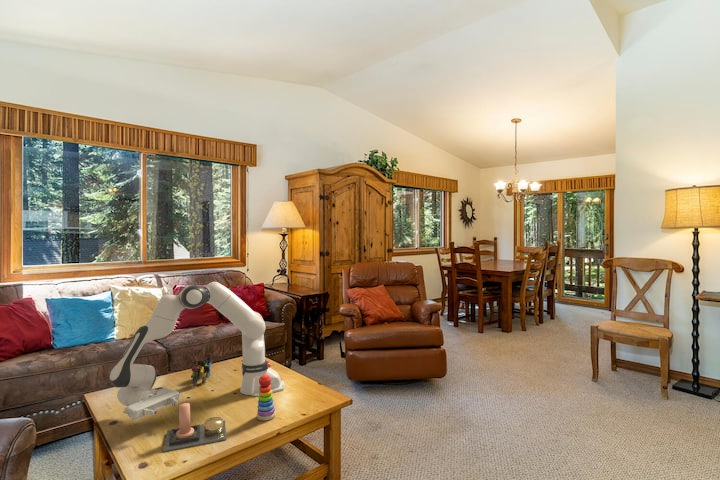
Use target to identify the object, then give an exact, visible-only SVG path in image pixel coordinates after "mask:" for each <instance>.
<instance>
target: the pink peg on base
mask: <svg viewBox="0 0 720 480" xmlns="http://www.w3.org/2000/svg"><path fill="white" fill-rule="evenodd" d="M178 419H179V420H178V421H179V422H178V425H179V427H178V428H179V429H180V430H178V431H177V432H176V438H177V439H184V438H190V437H192V436H193V435H194V428H192V427H191V426H192V425H191V403H189V402H184V403H183V402H182V403H180V404H179V405H178Z"/></svg>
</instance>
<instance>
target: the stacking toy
mask: <svg viewBox="0 0 720 480" xmlns="http://www.w3.org/2000/svg"><path fill="white" fill-rule="evenodd" d="M270 382H271V378H270V376H268V375H262V376H261V377H260V378H259V384H260V385H261V386H260V387H259V390H260V392H259V396H257V398H258V401H257V404H258V405H257V413H256V418H257V420H259V421H270V420H272V419H274V418H275V416H276V407H275V403H274V398H273V393H272V390H271V386H270V385H269V384H270Z"/></svg>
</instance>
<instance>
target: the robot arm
mask: <svg viewBox="0 0 720 480" xmlns="http://www.w3.org/2000/svg"><path fill="white" fill-rule="evenodd" d="M204 304H209V305H210V306H212V307H213V308H214V309H215V310H217V312H218V313H220V314H221V315H223V316H224V317H225V318H226V319H228V321H230V323H231V324H233V326H235V327H236V328H237V330H239V331H240V332H241V345H242V348H241V349H242V363H241V374H242V376H241V377H242V378H241V385H240V389H239V392H240V393H241V394H243V395H246V396H252V397H259V392H260V390H259V387H260V386H261V385H260V384H259V378H260V377H261V376H262V375H268V376H270V378H271V382H270V384H269V385H270V386H271V390H272V394H273V393H277V392H280V391H284V390H285V389H286V384H285V382H284V380H282V379H281V375H280V374H279V372H278V371H276V370H274V369H273V368H271V367H272V364H271V363H270V361H268V360H267V359H266V345H265V336H264V335H265V332H266V322H265V320H264V318H263V316H262V314H260V313H259V312H257V311H254V310H253V309H252V308H251V307H250V306H249V305H248V304H247V303H245V301H244V300H242V299H241V298H240V297H239V296H237V295H236V294H235V292H233V291H232V290H231V289H229V288H228V287H226V286H225V285H223V284H221V283H220V282H218V281H212V282H209V283H207V285H205V286H201V285H195V284H194V285H193V284H191V285H187V286H185V287H183V289H181V290H180V292H178V293H177V294H172V293H171V294H169V293H167V294H164V295H163V296H161V297H160V299H159V300H158V302H157V303H156V305H155V307H154V310H153V311H152V313H151V316H150V317H149V319H148V321H147V322H146V323H145V324H144V325H142V326H140V327H139V328H138V329H137V330H136V331H135V333H134V335H133V336H132V337H131V339H130V341H129V343H128V345H127V346H126V348H125V350H124V351H123V352H122V355H121V356H120V358H119V359H118V361H117V362H116V363H115V365H114V366H113V368H111V371H110V373H109V377H108V378H109V382H110V383H111V385H112V386H113V387H114V388H119V389H118V390H117V392H116V393H117V394H116V398H117V401H118V402H119V403H120V404H121V405H123V406H125V408H124V409H123V410H122V414H126V415H127V416H128V417H129V418H131V420H139V418H142V417H145V416H155V415H157V414H158V413H157V411H158V410H161V409H163V408H165V407H168V406H169V405H172V406H174V407H175V406H179V405H178V404H179V401H180V392H179V391H178V390H175V389H171V388H166V386H161V387H155V388H153V387H154V385H155V383H156V380H157V371H156V368H155V367H154V366H153V365H149V364H140V363H134V362H135V360H136V358H137V357H138V355H139V353H140V351H141V349H142V348H143V346H145V344H147V343H149V342H150V341H154V340H159V339H163V338H165V337H168V336H169V335H170V334H172V332H173V331H174V329H175V327H176V324H177V321H178V319H179V316H180V314H181V312H182V311H183V310H185V309H189V310H193V309H197V308H199V307H201V306H203V305H204Z"/></svg>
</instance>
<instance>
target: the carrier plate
mask: <svg viewBox="0 0 720 480" xmlns="http://www.w3.org/2000/svg"><path fill="white" fill-rule="evenodd" d="M191 427H192V428H194V435H193V436H192V437H190V438H184V439H177V438H176V432H177V431H178V430H180V429H179V427H177V428H176V427H175V428H172V429H168V430H167V432H166V434H165V435H166V436H165V440H164V444H163V448H162V449H163V450H162V451H163V452H170V451H174V450H180V449H185V448H190V447H197V446H201V445H206V444H211V443H217V442H222V441H226V440H227V433H226V432H227V430H226V428H227V427H226V420H224V419H223V417H220V416H213V417H209V418H207V419H206V420H205V421H204V422H203V423H201V424H195V425H194V424H193V425H191Z"/></svg>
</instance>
